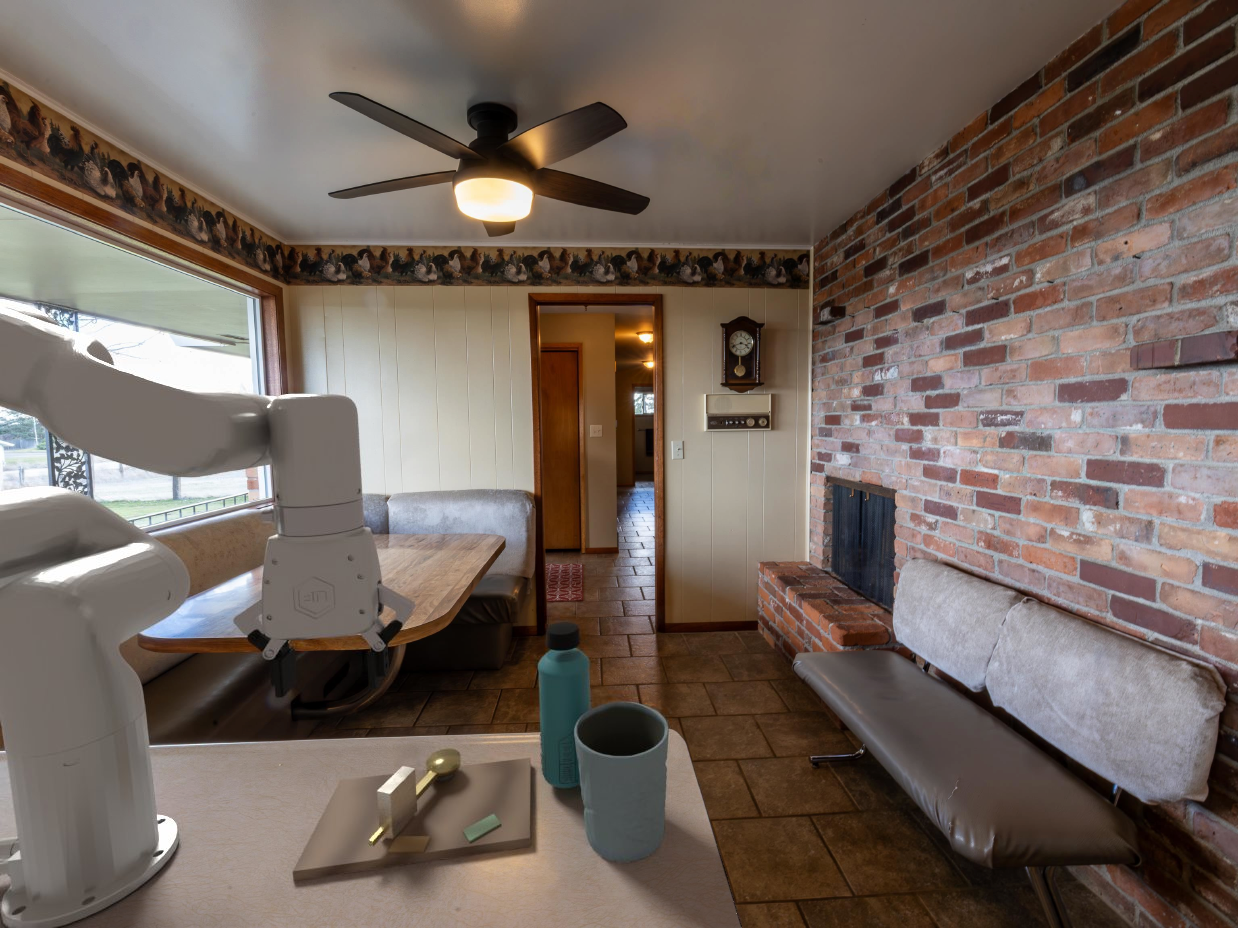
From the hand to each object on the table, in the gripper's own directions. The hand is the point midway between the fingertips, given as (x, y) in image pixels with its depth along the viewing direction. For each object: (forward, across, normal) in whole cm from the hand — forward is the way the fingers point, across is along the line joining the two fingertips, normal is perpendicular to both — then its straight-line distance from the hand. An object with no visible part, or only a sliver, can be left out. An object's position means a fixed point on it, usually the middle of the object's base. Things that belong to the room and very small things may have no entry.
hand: (332, 685), depth 54 cm
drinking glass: (+18, +30, -3) cm, 35 cm away
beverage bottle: (+18, +24, +6) cm, 31 cm away
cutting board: (+18, +8, +3) cm, 20 cm away
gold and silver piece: (+16, +7, +3) cm, 18 cm away
